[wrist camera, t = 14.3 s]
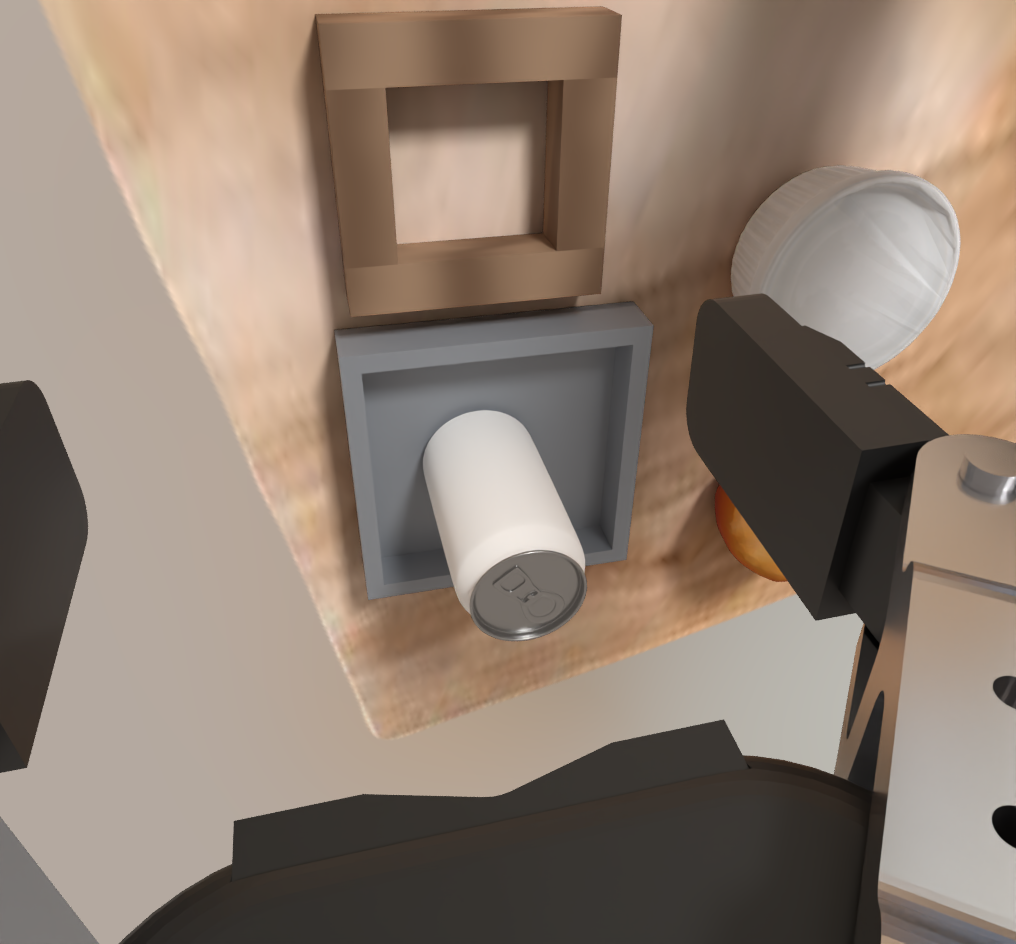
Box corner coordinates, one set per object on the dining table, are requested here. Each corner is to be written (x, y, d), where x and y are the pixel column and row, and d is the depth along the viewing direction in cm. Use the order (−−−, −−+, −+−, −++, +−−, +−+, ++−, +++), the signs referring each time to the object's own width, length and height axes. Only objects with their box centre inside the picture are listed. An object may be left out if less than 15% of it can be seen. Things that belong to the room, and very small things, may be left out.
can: (468, 517, 52) (515, 667, 42) (397, 456, 48) (431, 605, 38) (553, 452, 50) (621, 592, 41) (486, 384, 47) (544, 520, 37)
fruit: (709, 578, 59) (756, 606, 51) (683, 466, 58) (727, 478, 50) (819, 547, 59) (882, 569, 51) (795, 436, 58) (856, 442, 51)
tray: (633, 301, 46) (653, 325, 44) (610, 529, 56) (626, 559, 53) (334, 330, 43) (338, 357, 41) (363, 566, 53) (368, 600, 50)
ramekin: (931, 148, 45) (999, 178, 41) (863, 339, 52) (916, 382, 48) (740, 141, 43) (791, 173, 39) (692, 344, 49) (733, 389, 45)
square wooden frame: (602, 6, 38) (621, 15, 36) (586, 274, 45) (601, 293, 43) (315, 14, 35) (318, 24, 33) (346, 295, 42) (350, 317, 41)
